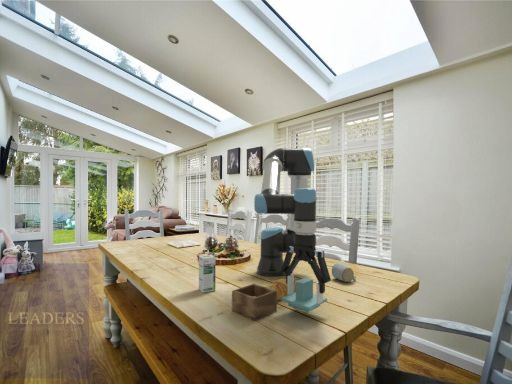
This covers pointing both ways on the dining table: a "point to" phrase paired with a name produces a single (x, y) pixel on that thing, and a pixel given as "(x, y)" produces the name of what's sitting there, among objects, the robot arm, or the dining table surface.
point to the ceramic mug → (342, 272)
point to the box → (254, 301)
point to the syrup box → (207, 273)
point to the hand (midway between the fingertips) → (304, 297)
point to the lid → (303, 296)
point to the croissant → (281, 288)
